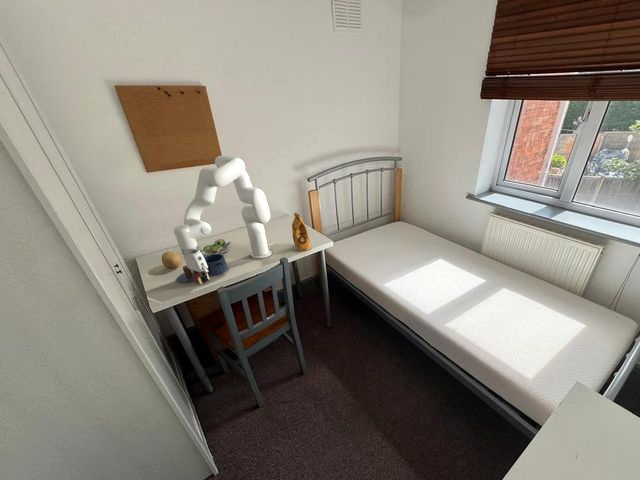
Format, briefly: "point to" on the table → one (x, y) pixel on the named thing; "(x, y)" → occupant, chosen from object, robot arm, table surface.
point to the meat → (199, 278)
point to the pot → (215, 264)
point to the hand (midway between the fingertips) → (202, 280)
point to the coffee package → (300, 234)
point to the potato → (171, 259)
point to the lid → (186, 276)
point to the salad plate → (216, 247)
